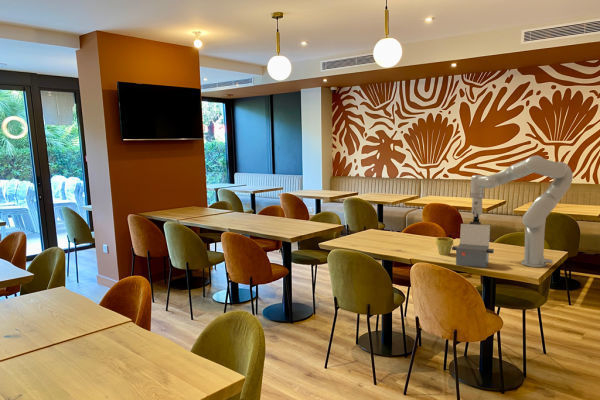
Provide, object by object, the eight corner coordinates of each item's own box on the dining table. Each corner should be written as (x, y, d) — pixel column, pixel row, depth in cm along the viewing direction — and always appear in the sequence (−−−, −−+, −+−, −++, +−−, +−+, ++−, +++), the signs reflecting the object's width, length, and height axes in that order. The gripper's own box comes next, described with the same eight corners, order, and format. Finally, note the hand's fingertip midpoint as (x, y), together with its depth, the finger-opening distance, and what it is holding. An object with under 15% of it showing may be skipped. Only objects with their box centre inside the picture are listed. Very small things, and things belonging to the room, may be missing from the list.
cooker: (494, 263, 251) (494, 246, 250) (491, 268, 240) (492, 251, 239) (454, 259, 262) (454, 243, 260) (450, 264, 251) (450, 247, 250)
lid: (488, 246, 251) (489, 246, 254) (489, 222, 252) (490, 223, 255) (459, 243, 259) (460, 243, 262) (461, 221, 260) (461, 221, 263)
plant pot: (454, 256, 270) (454, 240, 269) (436, 255, 272) (437, 240, 271) (451, 252, 280) (452, 237, 279) (435, 251, 282) (435, 237, 281)
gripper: (482, 197, 253) (481, 228, 255) (485, 194, 266) (484, 223, 268) (468, 196, 257) (467, 227, 259) (472, 193, 270) (471, 223, 272)
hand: (476, 225), depth 264 cm, fingers closed
